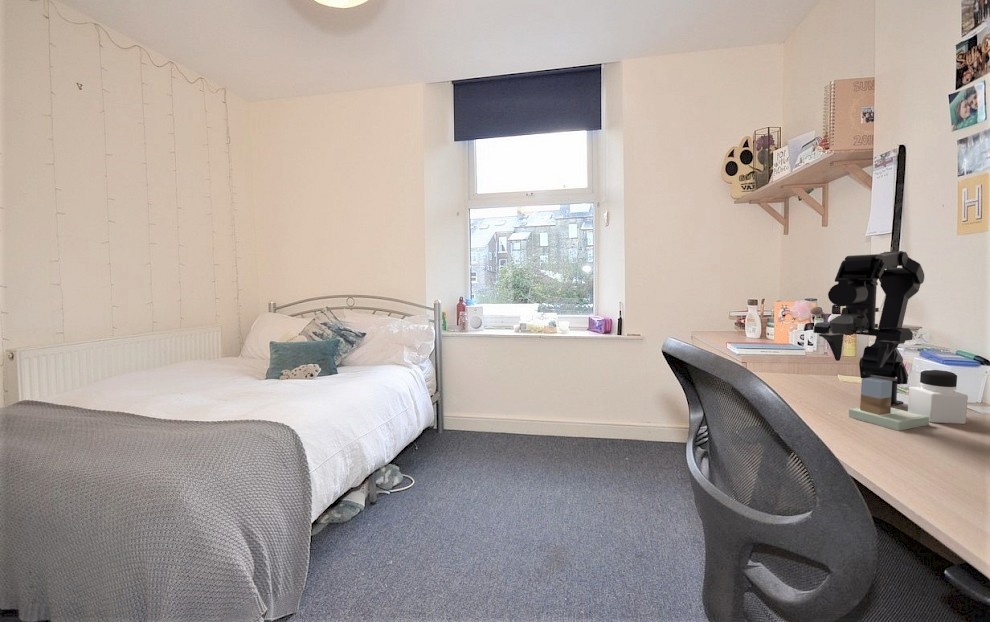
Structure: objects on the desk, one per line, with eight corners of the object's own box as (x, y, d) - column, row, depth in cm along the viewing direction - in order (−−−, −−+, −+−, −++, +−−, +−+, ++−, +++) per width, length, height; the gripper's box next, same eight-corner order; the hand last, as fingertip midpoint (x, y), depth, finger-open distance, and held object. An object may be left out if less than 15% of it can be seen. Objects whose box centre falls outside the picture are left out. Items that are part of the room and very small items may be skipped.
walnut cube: (870, 408, 101) (871, 392, 101) (890, 413, 98) (891, 397, 97) (860, 410, 100) (860, 394, 100) (879, 415, 96) (880, 398, 96)
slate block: (871, 392, 101) (872, 377, 101) (891, 397, 97) (892, 380, 97) (860, 394, 100) (861, 378, 100) (880, 398, 96) (881, 382, 96)
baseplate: (877, 411, 105) (878, 404, 105) (928, 424, 95) (929, 416, 95) (848, 416, 101) (849, 408, 101) (898, 430, 92) (899, 421, 92)
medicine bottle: (966, 424, 95) (970, 374, 94) (930, 422, 96) (933, 373, 96) (940, 414, 102) (943, 368, 101) (906, 413, 103) (909, 367, 103)
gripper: (800, 303, 109) (799, 360, 110) (887, 307, 92) (883, 375, 93) (827, 301, 113) (825, 356, 114) (915, 305, 95) (912, 369, 97)
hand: (858, 363), depth 104 cm, fingers open, 9 cm apart
